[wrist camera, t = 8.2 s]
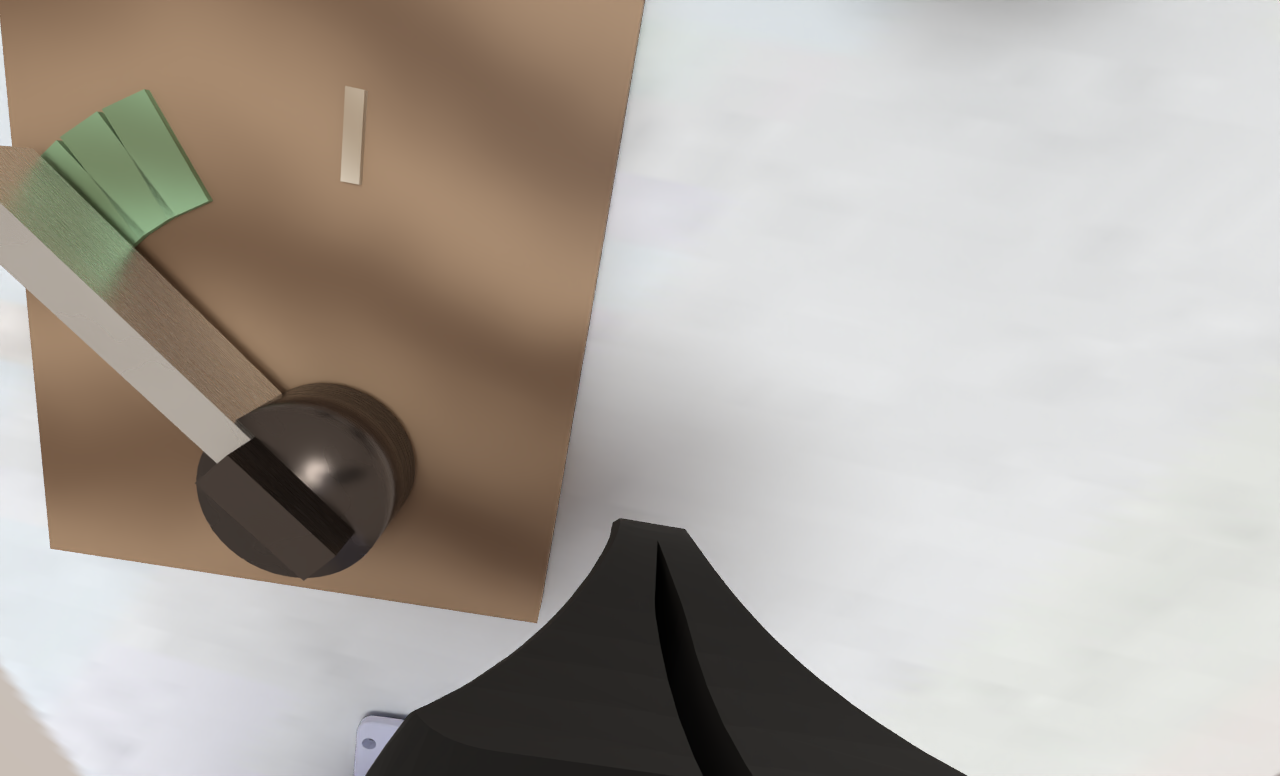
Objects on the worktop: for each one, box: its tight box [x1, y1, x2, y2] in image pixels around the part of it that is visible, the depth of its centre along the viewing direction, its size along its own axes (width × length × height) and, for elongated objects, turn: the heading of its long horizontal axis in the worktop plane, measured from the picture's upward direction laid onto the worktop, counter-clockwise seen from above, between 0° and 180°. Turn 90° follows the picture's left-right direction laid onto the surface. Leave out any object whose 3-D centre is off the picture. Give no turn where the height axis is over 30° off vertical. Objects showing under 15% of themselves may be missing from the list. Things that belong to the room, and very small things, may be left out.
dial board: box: [0, 0, 645, 623], centre depth 19 cm, size 20×16×1 cm
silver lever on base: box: [0, 146, 415, 581], centre depth 17 cm, size 14×5×4 cm, turn 38°
